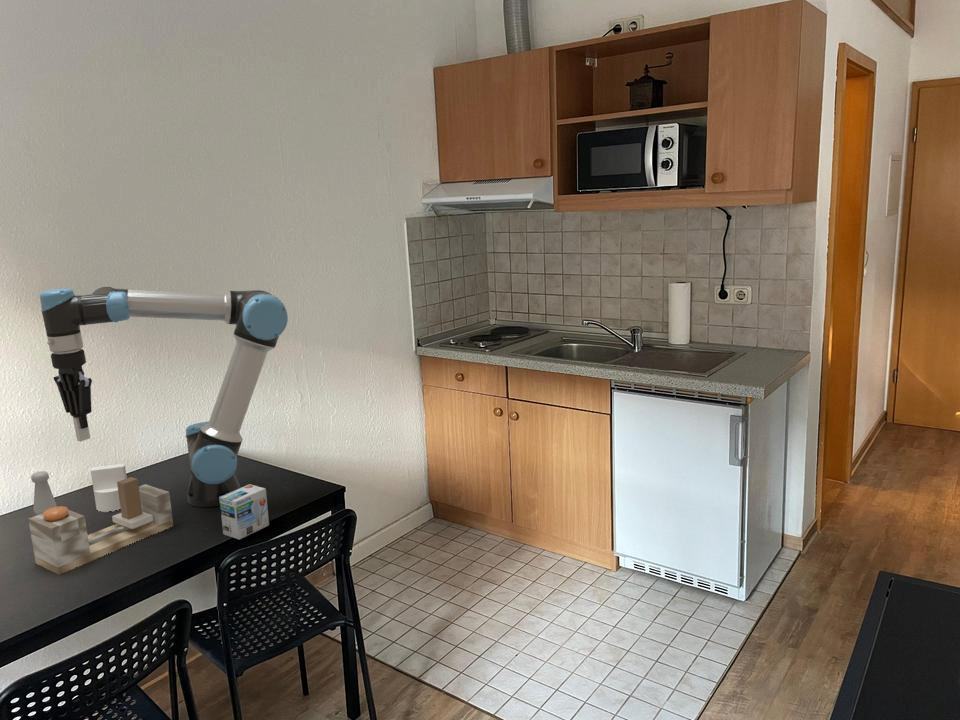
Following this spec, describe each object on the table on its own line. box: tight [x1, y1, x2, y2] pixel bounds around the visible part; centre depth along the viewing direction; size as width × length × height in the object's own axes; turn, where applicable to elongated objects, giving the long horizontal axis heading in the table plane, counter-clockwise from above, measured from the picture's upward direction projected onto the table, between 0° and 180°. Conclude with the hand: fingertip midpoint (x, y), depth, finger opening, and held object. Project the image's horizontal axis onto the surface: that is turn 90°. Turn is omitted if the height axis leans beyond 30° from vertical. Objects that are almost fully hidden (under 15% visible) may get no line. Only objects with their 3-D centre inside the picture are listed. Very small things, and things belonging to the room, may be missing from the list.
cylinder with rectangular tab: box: [90, 462, 128, 513], centre depth 220 cm, size 9×9×12 cm
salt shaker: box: [30, 470, 58, 516], centre depth 214 cm, size 6×6×13 cm
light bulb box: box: [219, 483, 270, 540], centre depth 201 cm, size 11×7×11 cm, turn 148°
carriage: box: [111, 476, 153, 529], centre depth 200 cm, size 6×9×12 cm, turn 56°
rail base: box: [27, 483, 174, 576], centre depth 195 cm, size 31×11×12 cm, turn 146°
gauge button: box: [43, 505, 69, 522], centre depth 185 cm, size 5×5×5 cm
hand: (83, 439), depth 195 cm, fingers closed
